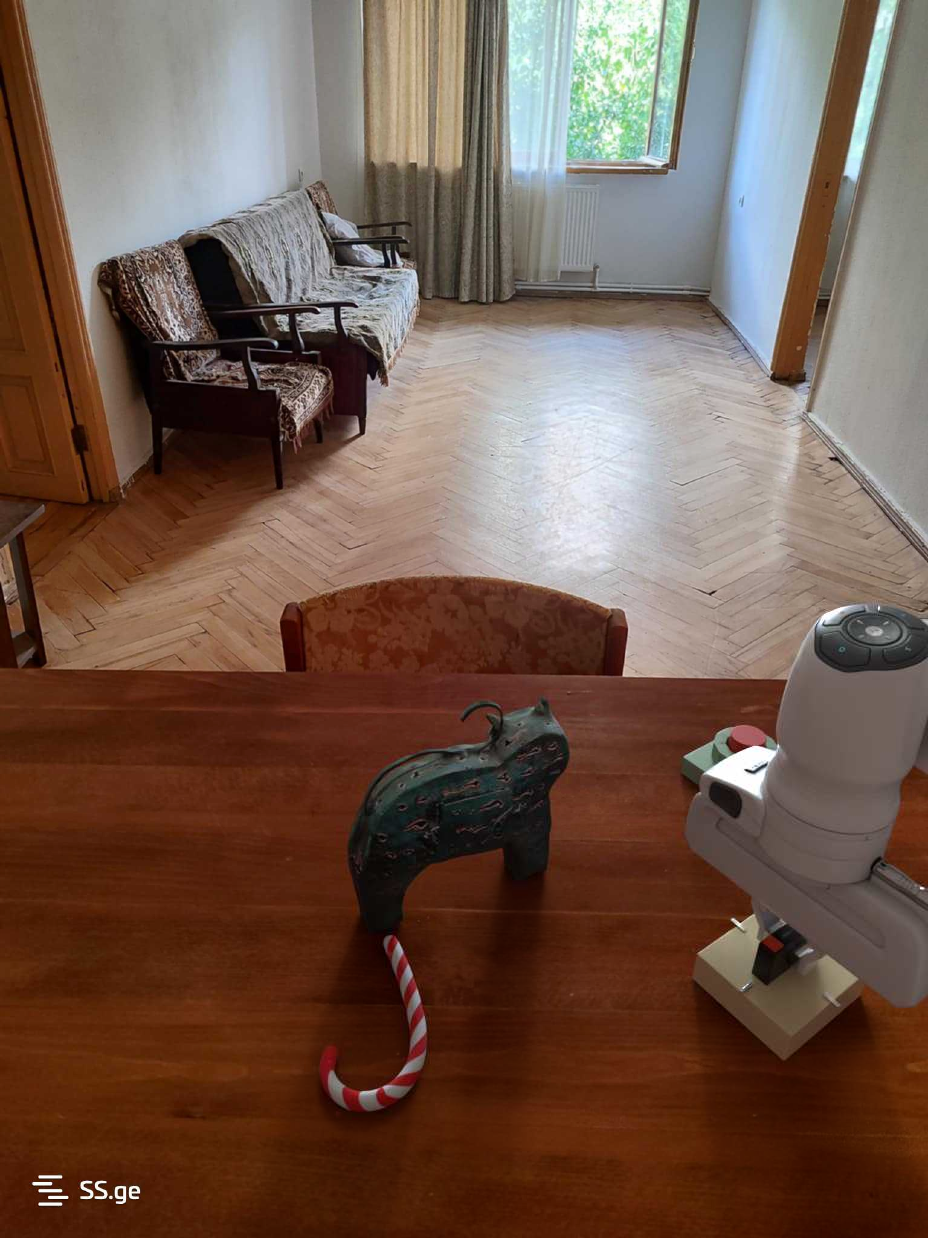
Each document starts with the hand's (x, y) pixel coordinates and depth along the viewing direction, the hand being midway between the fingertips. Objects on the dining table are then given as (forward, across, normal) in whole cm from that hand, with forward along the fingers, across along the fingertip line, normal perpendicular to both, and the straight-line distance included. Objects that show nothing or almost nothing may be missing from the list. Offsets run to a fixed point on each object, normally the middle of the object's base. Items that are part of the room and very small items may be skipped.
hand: (784, 953), depth 70 cm
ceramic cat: (+4, +23, +15) cm, 28 cm away
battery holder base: (+4, 0, 0) cm, 4 cm away
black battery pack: (+1, 0, 0) cm, 1 cm away
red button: (0, +19, -19) cm, 27 cm away
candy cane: (+4, +16, +28) cm, 32 cm away
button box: (+4, +19, -19) cm, 27 cm away
